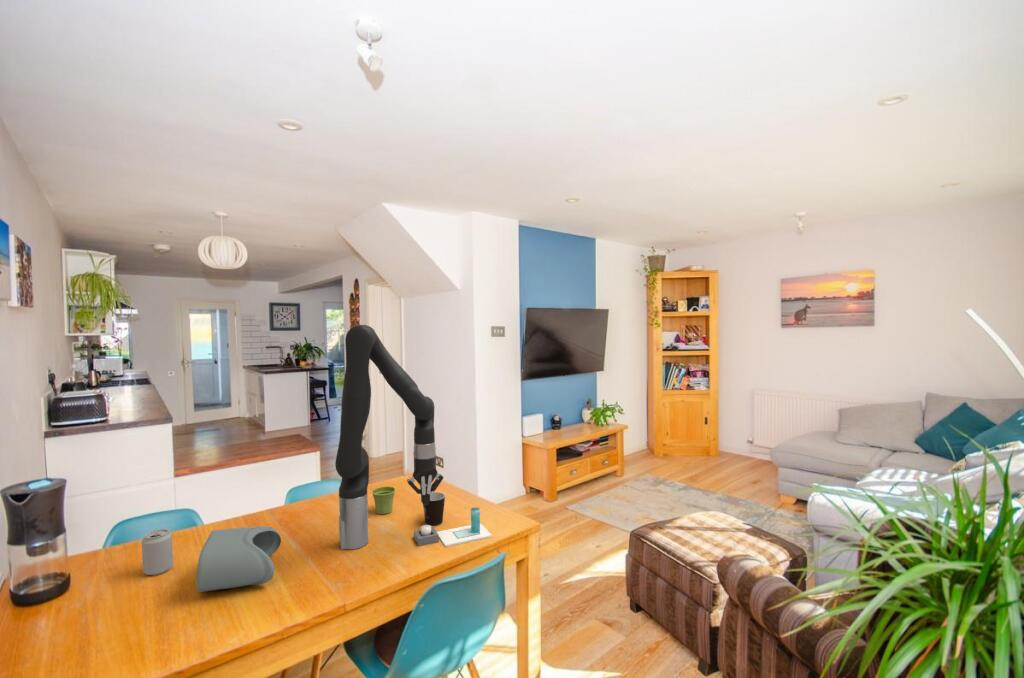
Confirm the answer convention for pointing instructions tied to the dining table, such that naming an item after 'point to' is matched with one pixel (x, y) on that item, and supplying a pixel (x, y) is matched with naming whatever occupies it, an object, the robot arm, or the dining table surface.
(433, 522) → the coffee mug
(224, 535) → the grey scooped bin
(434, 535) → the button frame
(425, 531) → the button
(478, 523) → the marker
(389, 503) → the plant pot
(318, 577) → the dining table surface
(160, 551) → the can
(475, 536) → the sheet
